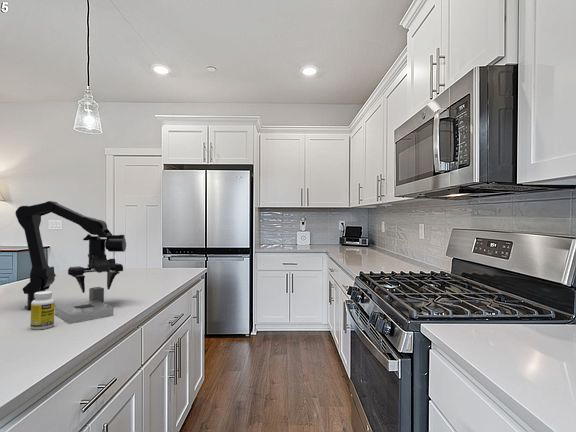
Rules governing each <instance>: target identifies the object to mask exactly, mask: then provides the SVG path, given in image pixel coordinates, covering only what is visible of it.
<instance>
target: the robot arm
mask: <svg viewBox="0 0 576 432" xmlns="http://www.w3.org/2000/svg"><path fill="white" fill-rule="evenodd" d="M48 214H55V215H56V216H58V217H61V218H64V219H66V220H67V221H69V222H72V223H74V224H77V225H78V226H79V227H81V228H82V230H84V231H85V232H87V233H88V234H87V235H86V236H85V237H84V238H82V241H88V253H87V257H88V264H87V267H83V266H70V267H69V268H68V270H67V275H69V276H71V277H73V278H75V279H76V281H77V283H78V285H79V288H80V290H81V292H82V293H83V294H84V293H85V292H86V288H85V286H86V285H85V277H86V276H85V275H84V274H85V273H95V272H96V273H99V274H101V273H106V288H107V289H106V290H110V289H111V288H112V287H111V286H112V283H113V281H114V279H115V277H116V276H117V275H119V274H120V272H124V266H123V264H122V263H118V262H116V259H115V258H109V259H108V258H107V254H106V250H107V251H108V252H111V253H112V252H115V253H116V252H118V253H119V252H121V253H124V252H126V249H127V242H126V238H125V237H126V236H125V234H115V235H114V234H112V233H111V231H110V230H109V229H108V225H107V223H106V221H104V220H101V219H97V218H95V217H94V218H93V217H89V216H86V215H83V214H82V213H79V212H77V211H75V210H72V209H71V208H68V207H67V206H64V205H62V204H60V203H58V202H57V201H53V200H48V201H46V202H42V203H38V204H32V205H21V206H18V207H17V209H16V210H15V214H14V215H15V217H16V219H17V222H18V224H19V225H20V226H21V227H22V229H23V230H24V235H25V240H26V245H27V248H28V252H29V254H28V255H29V259H30V264H31V270H30V273H29V282H28V283H27V284H26V285H25V286H24V287H23V288H22V292H23V294H24V295H27V302H26V303H27V305H25V306H24V308H25V309H26V310H28V311H31V303H32V301H33V300H35V298H34V293H36V292H42V291H48V290H49V289H50V286H51V285H52V284H53V283H54V282H55V280H56V279H55V278H56V277H57V274H56V273H55V267H54V266H49V264H48V263H47V259H46V255H45V250H44V245H43V240H42V239H43V238H42V235H41V230H40V226H41V223H42V216H45V215H48Z"/></svg>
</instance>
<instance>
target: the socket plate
mask: <svg viewBox="0 0 576 432" xmlns="http://www.w3.org/2000/svg"><path fill="white" fill-rule="evenodd" d="M54 316H56V317H58V318H60V319H61V320H62V321H65V323H67V324H71V325H72V324H76V323H81V322H86V321H92V320H96V319H102V318H107V317H112V316H113V317H114V306H112V305H109V304H107V303H105V302H104V303H103V302H100V301H98V300H93V301H89V300H87V301H79V302H74V303H68V304H60V305H54Z"/></svg>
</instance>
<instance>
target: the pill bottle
mask: <svg viewBox="0 0 576 432" xmlns="http://www.w3.org/2000/svg"><path fill="white" fill-rule="evenodd" d="M52 297H53V292H52V291H50V290H46V291H42V292H36V293H34V298H35V300H33V301H32V303H31V310H30V329H31V330H38V331H39V330H45V329H51V328H52V327H53V326H55V306H56V305H55V299H54V298H52Z"/></svg>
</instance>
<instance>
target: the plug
mask: <svg viewBox="0 0 576 432" xmlns="http://www.w3.org/2000/svg"><path fill="white" fill-rule="evenodd" d="M88 291H89V295H88V296H89V297H88V301H93V300H98V301H100V302H103V303H105V301H104V299H105V298H104V297H105V288H104V287H101V286H94V287H90V288H89V290H88Z"/></svg>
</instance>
